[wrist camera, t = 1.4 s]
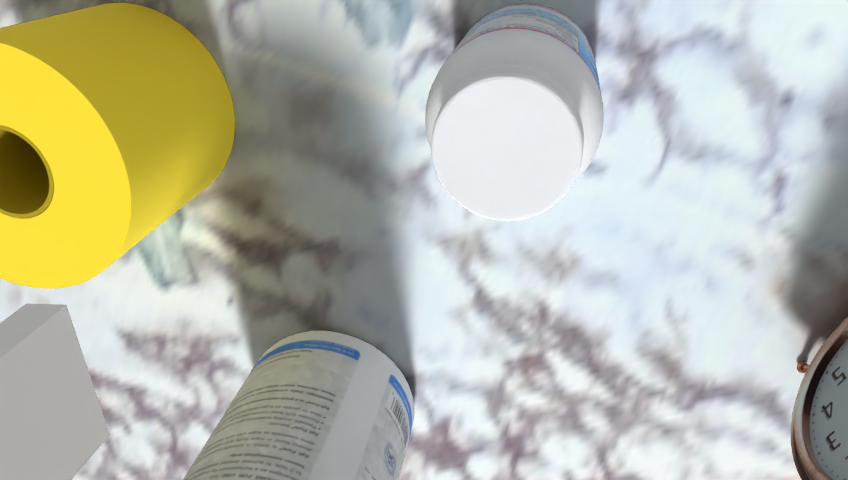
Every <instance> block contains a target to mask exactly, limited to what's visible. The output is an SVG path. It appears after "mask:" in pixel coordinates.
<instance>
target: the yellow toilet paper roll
mask: <svg viewBox="0 0 848 480" xmlns="http://www.w3.org/2000/svg"><path fill="white" fill-rule="evenodd" d="M234 134H235V115H234V108H233V102H232V98H231V94H230V91H229V88H228V85H227V83H226V80H225V78H224V76H223V74H222V72H221V70H220V68H219V66H218V65H217V63H216V61H215V60H214V58H213V57H212V55H211V54H210V53H209V51H208V50H207V49H206V48H205V46H204V45H203V44H202V43H201V42H200V41H199V40H198V39H197V38H196V37H195V36H194V35H193V34H192V33H191V32H190V31H189V30H187V29H186V28H185V27H184V26H182V25H181V24H180V23H178V22H177V21H175V20H174V19H172V18H170V17H168V16H167V15H165V14H163V13H161V12H158V11H156V10H154V9H151V8H148V7H145V6H141V5H136V4H130V3H108V4H102V5H97V6H93V7H89V8H85V9H80V10H76V11H72V12H67V13H63V14H59V15H54V16H50V17H46V18H42V19H37V20H33V21H29V22H24V23H20V24H16V25H11V26H7V27H3V28H0V278H1V279H4V280H7V281H9V282H13V283H16V284H20V285H24V286H29V287H35V288H63V287H69V286H73V285H77V284H80V283H83V282H85V281H87V280H89V279H91V278H93V277H95V276H96V275H98V274H99V273H101V272H102V271H103V270H104V269H106V268H107V267H108V266H109V265H111V264H112V263H113V262H114V261H116V260H117V259H118V258H119V257H121V256H122V255H123V254H124V253H126V252H127V251H128V250H129V249H130V248H132V247H133V246H134V245H135V244H137V243H138V242H139V241H140V240H142V239H143V238H144V237H145V236H147V235H148V234H149V233H150V232H152V231H153V230H154V229H155V228H156V227H158V226H159V225H160V224H161V223H163V222H164V221H165V220H166V219H168V218H169V217H170V216H171V215H173V214H174V213H175V212H176V211H178V210H179V209H180V208H181V207H182V206H184V205H185V204H186V203H187V202H189V201H190V200H191V199H192V198H194V197H195V196H196V195H197V194H199V193H200V192H201V191H202V190H204V189H205V188H206V187H207V186H209V185H210V184H211V183H212V182H213V181H214V180H215V179H216V178H217V177H218V175H219V174H220V173H221V171H222V170H223V168H224V166H225V165H226V163H227V161H228V158H229V156H230V153H231V150H232V146H233V141H234Z"/></svg>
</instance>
